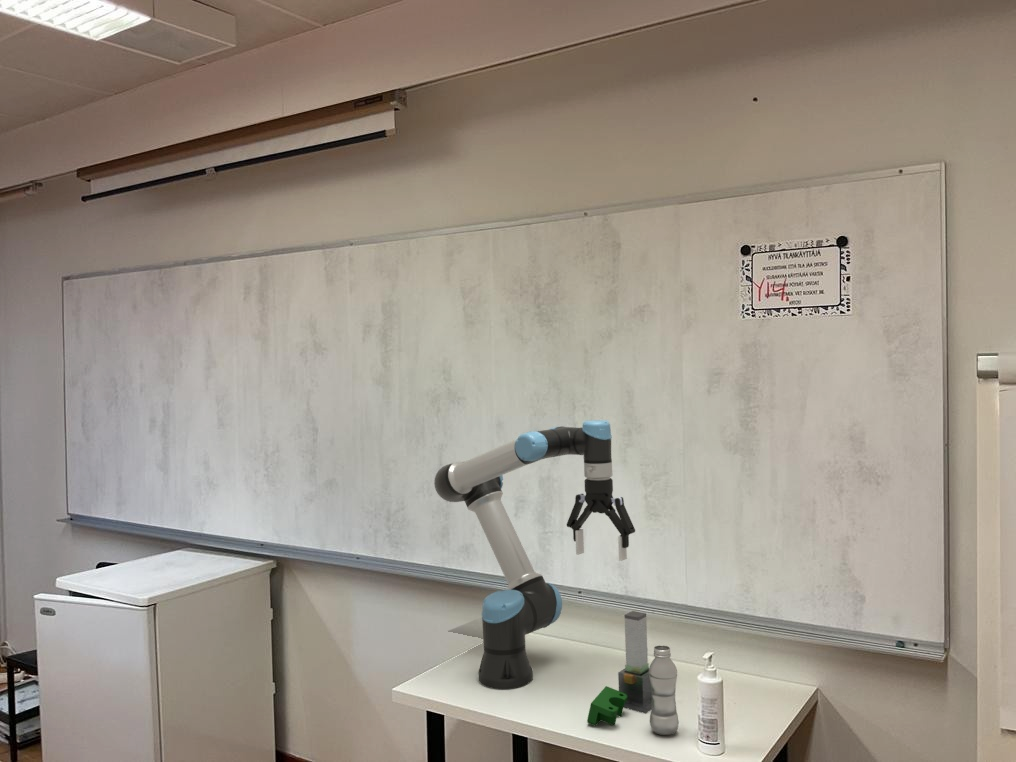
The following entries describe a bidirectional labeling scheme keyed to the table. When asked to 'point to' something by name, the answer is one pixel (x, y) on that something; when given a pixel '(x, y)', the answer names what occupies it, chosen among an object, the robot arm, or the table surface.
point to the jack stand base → (636, 690)
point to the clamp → (607, 706)
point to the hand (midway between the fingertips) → (601, 556)
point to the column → (636, 643)
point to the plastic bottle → (663, 692)
